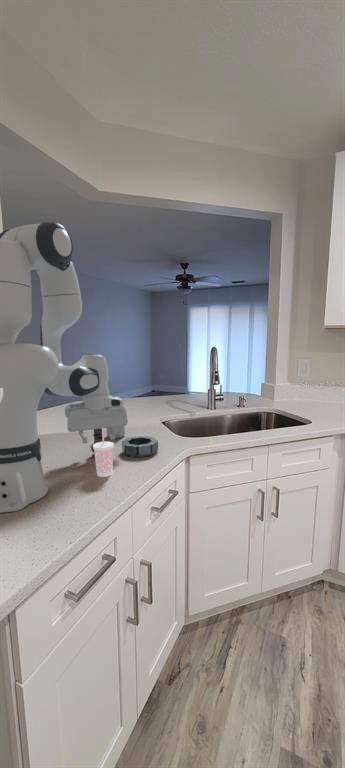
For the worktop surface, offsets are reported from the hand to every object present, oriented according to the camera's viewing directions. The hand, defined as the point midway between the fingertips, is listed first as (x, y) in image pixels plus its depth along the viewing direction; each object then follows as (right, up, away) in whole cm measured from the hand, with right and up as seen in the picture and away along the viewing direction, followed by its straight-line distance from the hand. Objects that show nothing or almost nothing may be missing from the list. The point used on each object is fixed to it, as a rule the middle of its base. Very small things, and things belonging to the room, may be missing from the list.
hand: (98, 440), depth 116 cm
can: (+2, -2, +23) cm, 24 cm away
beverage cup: (+5, -7, -16) cm, 18 cm away
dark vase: (0, -5, 0) cm, 5 cm away
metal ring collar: (+14, -4, +3) cm, 15 cm away
